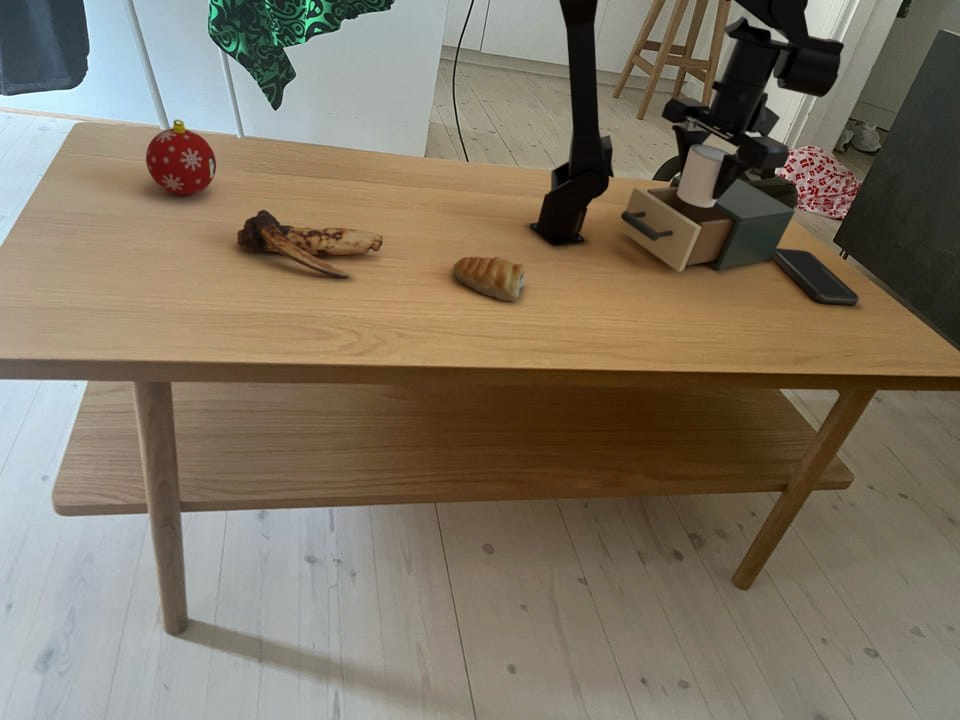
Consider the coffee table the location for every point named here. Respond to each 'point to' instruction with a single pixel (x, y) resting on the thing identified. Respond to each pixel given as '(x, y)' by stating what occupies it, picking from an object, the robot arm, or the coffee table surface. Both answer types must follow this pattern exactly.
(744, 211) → the cabinet
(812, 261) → the phone
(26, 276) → the coffee table surface
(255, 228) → the bone fish hook
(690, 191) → the white cylinder
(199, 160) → the christmas ornament
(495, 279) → the pastry
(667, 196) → the drawer
